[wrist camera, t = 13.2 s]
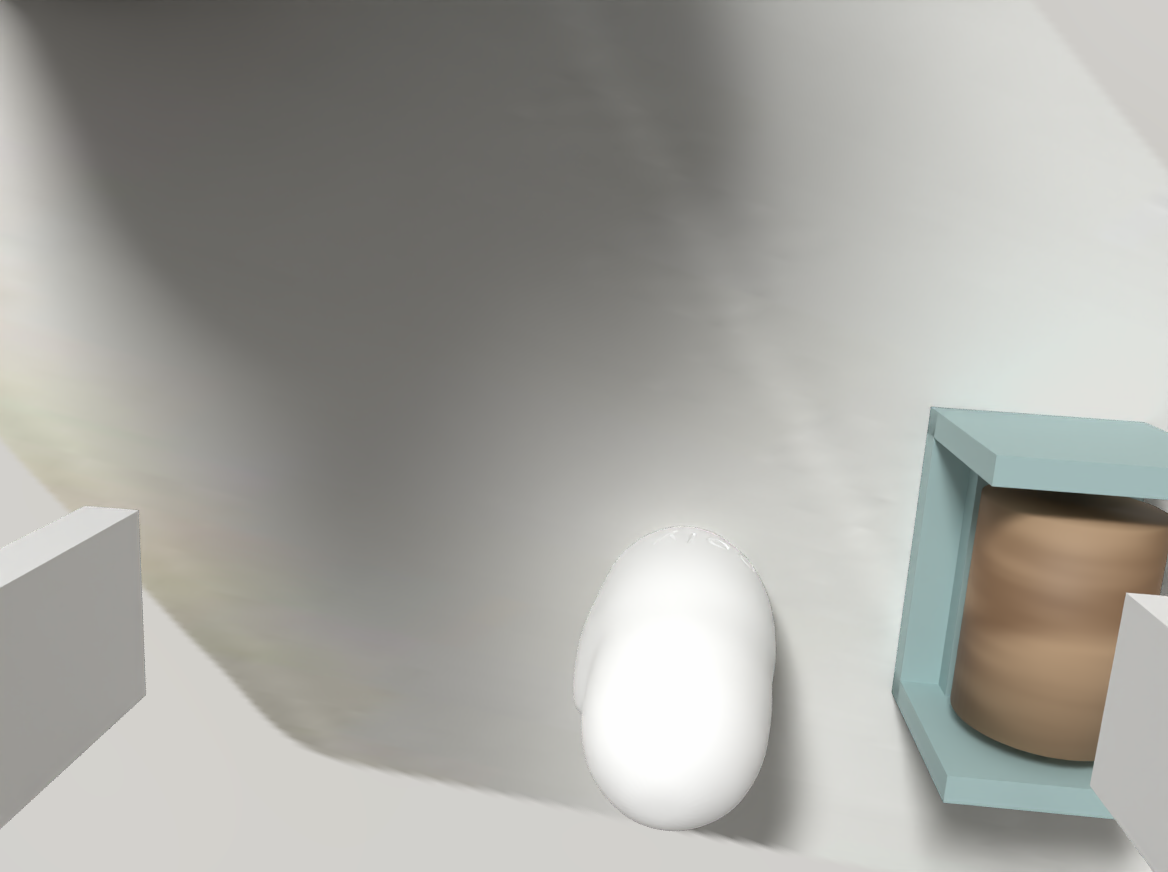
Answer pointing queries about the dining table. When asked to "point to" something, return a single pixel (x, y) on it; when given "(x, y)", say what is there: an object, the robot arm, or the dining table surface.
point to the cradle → (940, 576)
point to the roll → (1050, 613)
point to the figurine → (677, 679)
